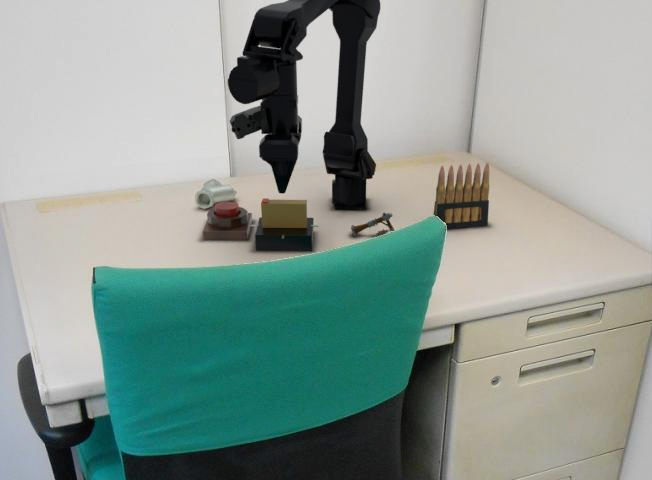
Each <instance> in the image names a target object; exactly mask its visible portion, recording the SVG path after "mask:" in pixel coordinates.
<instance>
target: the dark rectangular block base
mask: <svg viewBox="0 0 652 480" xmlns="http://www.w3.org/2000/svg"><path fill="white" fill-rule="evenodd" d="M251 227H256V230H255V233H254V237H255V238H254V240H255V241H254V242H255V251H256V252H312V251H313V245H314V236H315V235H314V234H315V231H314V229H315V228H319V224H314V217H307V228H262V216H260V217H259V219H258V222H257V224H251ZM314 227H315V228H314Z"/></svg>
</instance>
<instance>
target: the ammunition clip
mask: <svg viewBox="0 0 652 480" xmlns="http://www.w3.org/2000/svg"><path fill="white" fill-rule="evenodd" d="M445 173H446V172H445V168H444V165H441V167H440V168H439V172H438V177H437V184H436V192H435V200H434V208H433V215H435V216H438V217H439V218H440V219H441V220H442V221H443V222H445V223H446V225H447V229H446V230H456V229H468V228H469V229H470V228H480V227H481V228H483V227H488V225H489V207H490V200H489V195H490V166H489V163H488V162H486V164H484V167H483V173H481V164H480V163H477V164H476V166H475V170H474V173H473V171H472V165H471V163H469V164H468V165H467V167H466V170H465V177H464V171H463V166H462V164H459V166H458V169H457V172H456V179H455V170H454V166H453V165H452V164H450V166H449V168H448V172H447V178H446V174H445ZM481 174H482V179H481ZM473 176H474V177H473Z"/></svg>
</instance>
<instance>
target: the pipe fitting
mask: <svg viewBox="0 0 652 480" xmlns="http://www.w3.org/2000/svg"><path fill="white" fill-rule="evenodd" d="M237 193H238V192H237V189H235V187H233V185H232V184H230V183H229V184H228V183H227V184H222V183H221V182H220V181H218V180H217V179H215V178H211V179H208V180H207V181H205V182H204V183H203V186H202V187H201V189H200V190H198V191H196V193H195V196H194V197H195V198H194V201H195V203H194V204H195V205H196V206H198V207H199V208H200V209H202V210H206V209H209V208H211V207H213V206H214V205H216V204H217V203H220V202H234V200H235V197H236V194H237Z"/></svg>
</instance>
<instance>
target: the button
mask: <svg viewBox="0 0 652 480" xmlns="http://www.w3.org/2000/svg"><path fill="white" fill-rule="evenodd" d="M239 207H240V205H239V203H237V202H235V201H227V202H220V203H215V204H214V208H215V215H216V216H219V217H233V216H237V215H239Z"/></svg>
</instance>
